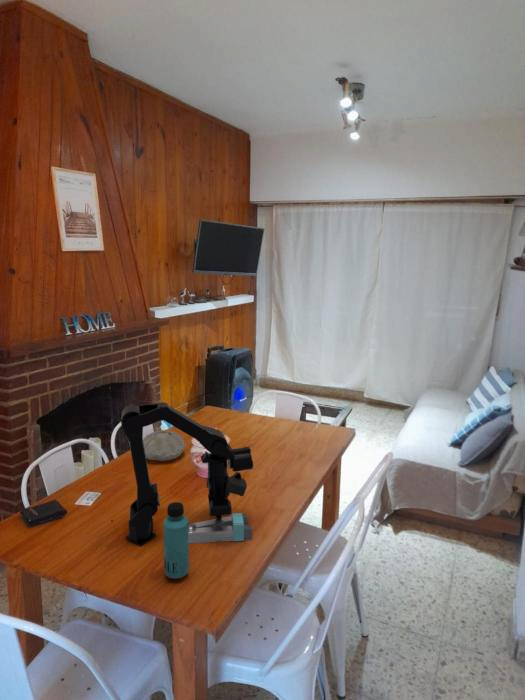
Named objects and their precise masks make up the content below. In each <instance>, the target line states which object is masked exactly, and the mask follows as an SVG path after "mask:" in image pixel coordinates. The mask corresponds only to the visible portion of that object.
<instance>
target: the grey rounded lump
mask: <svg viewBox="0 0 525 700" xmlns="http://www.w3.org/2000/svg"><path fill="white" fill-rule="evenodd" d="M143 443H144V449H145V455H146V460H147V459H148V460H151V461H161V462H166V461H171V460H175V459H177V458H178V457H180V456H181V455H182V454H183V452H184V450H185V448H186V447H185V443H186V440H184V438H183V437H182V435H181V434H179V433H178V432H176V431H175V430H174V431H173V430H167V429H165V430H164V429H161V430H155V431H154V432H150V433H149V434H146V436H145V437H143Z"/></svg>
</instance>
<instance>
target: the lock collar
mask: <svg viewBox="0 0 525 700" xmlns="http://www.w3.org/2000/svg"><path fill="white" fill-rule="evenodd" d="M242 514H243V513H242V512H239V513H237V512H236V513H231V516H232V525H233V542H244V541H245V540H244V522H243V517H242Z"/></svg>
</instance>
